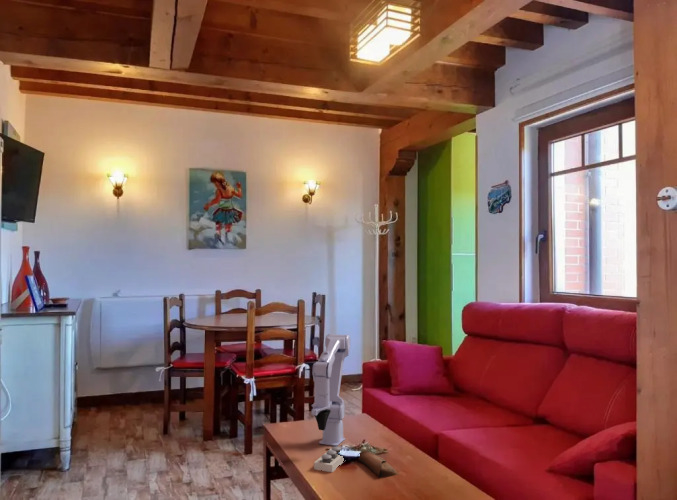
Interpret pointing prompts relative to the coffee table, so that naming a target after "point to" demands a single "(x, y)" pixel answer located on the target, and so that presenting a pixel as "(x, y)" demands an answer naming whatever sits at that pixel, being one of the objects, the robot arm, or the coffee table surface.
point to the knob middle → (332, 453)
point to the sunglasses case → (377, 464)
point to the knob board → (328, 466)
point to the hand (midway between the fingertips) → (321, 429)
